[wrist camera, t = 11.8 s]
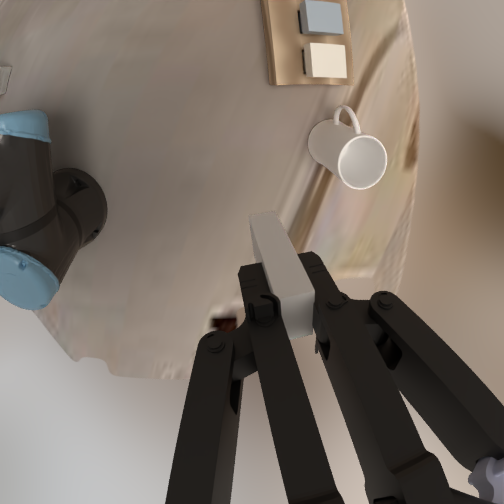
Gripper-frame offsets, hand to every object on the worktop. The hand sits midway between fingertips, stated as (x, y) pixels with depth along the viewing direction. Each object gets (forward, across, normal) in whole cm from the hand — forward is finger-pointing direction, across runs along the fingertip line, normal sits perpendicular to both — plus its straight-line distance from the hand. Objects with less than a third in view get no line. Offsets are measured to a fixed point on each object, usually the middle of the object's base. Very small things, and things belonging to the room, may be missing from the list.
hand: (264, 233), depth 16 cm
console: (+31, +14, +17) cm, 38 cm away
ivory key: (+28, +14, +11) cm, 33 cm away
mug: (+31, +18, -2) cm, 36 cm away
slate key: (+28, +14, +17) cm, 36 cm away
